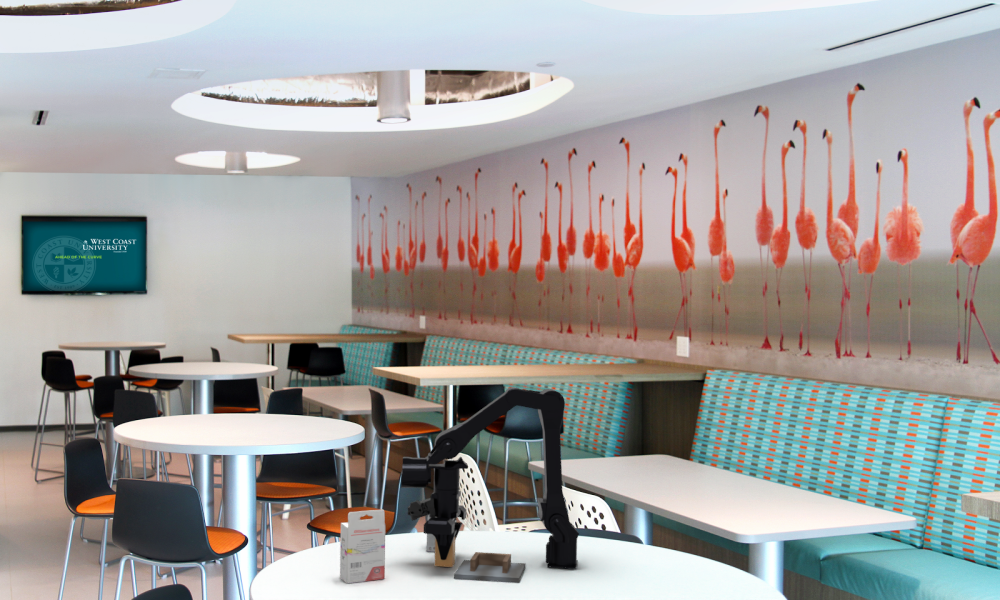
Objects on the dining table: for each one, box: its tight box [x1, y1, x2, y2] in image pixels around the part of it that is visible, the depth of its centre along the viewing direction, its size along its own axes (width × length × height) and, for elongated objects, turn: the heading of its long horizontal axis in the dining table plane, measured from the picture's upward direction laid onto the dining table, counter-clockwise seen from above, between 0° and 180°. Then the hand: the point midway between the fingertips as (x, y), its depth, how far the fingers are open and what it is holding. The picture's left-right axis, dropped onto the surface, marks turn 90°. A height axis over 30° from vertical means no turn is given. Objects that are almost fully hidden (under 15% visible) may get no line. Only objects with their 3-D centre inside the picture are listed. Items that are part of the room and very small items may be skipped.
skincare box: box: [426, 514, 437, 553], centre depth 217 cm, size 6×4×12 cm
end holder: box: [453, 551, 527, 584], centre depth 196 cm, size 14×12×4 cm
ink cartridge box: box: [339, 509, 386, 584], centre depth 190 cm, size 9×5×15 cm, turn 117°
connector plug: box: [434, 537, 456, 568], centre depth 202 cm, size 4×3×8 cm
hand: (445, 557), depth 202 cm, fingers closed on connector plug, 3 cm apart
